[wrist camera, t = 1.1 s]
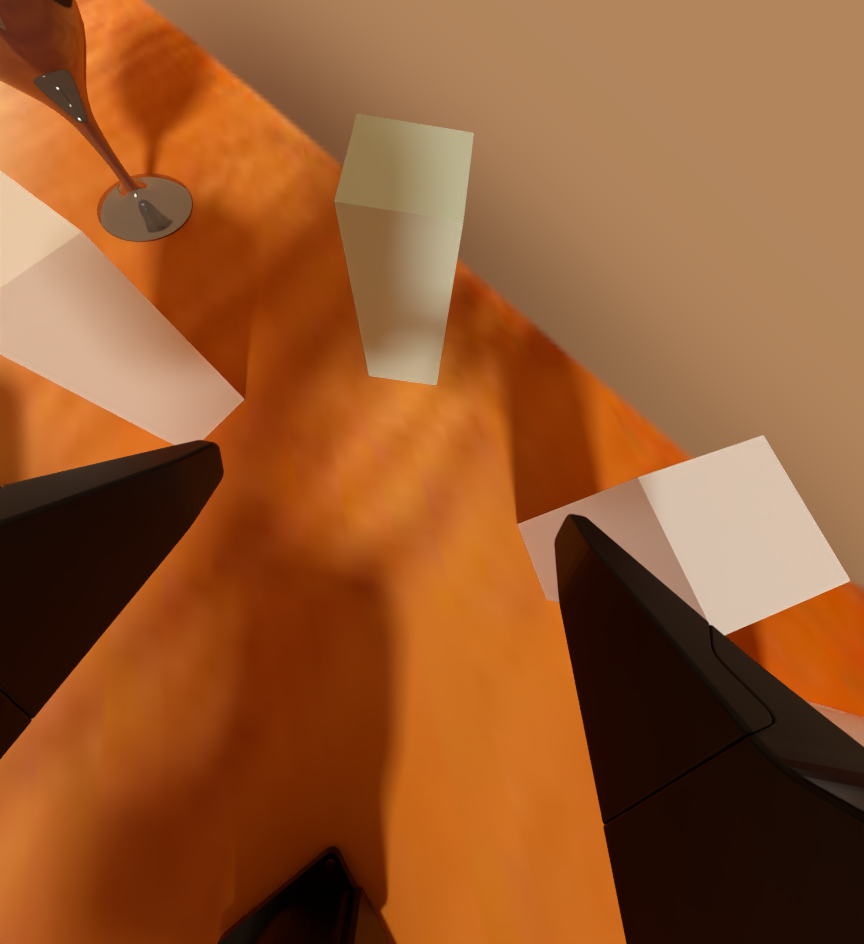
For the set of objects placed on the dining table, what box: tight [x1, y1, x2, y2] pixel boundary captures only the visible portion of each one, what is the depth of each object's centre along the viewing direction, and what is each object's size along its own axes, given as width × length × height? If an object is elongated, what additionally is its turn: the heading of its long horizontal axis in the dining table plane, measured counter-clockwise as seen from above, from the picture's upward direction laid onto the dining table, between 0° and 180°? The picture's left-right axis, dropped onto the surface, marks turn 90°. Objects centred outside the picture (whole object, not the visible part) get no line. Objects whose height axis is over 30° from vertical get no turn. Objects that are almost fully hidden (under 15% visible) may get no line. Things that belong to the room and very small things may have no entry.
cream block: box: [0, 171, 245, 445], centre depth 18 cm, size 5×5×12 cm
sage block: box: [334, 113, 474, 385], centre depth 20 cm, size 5×5×12 cm
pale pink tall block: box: [517, 436, 850, 635], centre depth 17 cm, size 5×5×12 cm
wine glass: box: [0, 0, 193, 242], centre depth 21 cm, size 8×8×15 cm
